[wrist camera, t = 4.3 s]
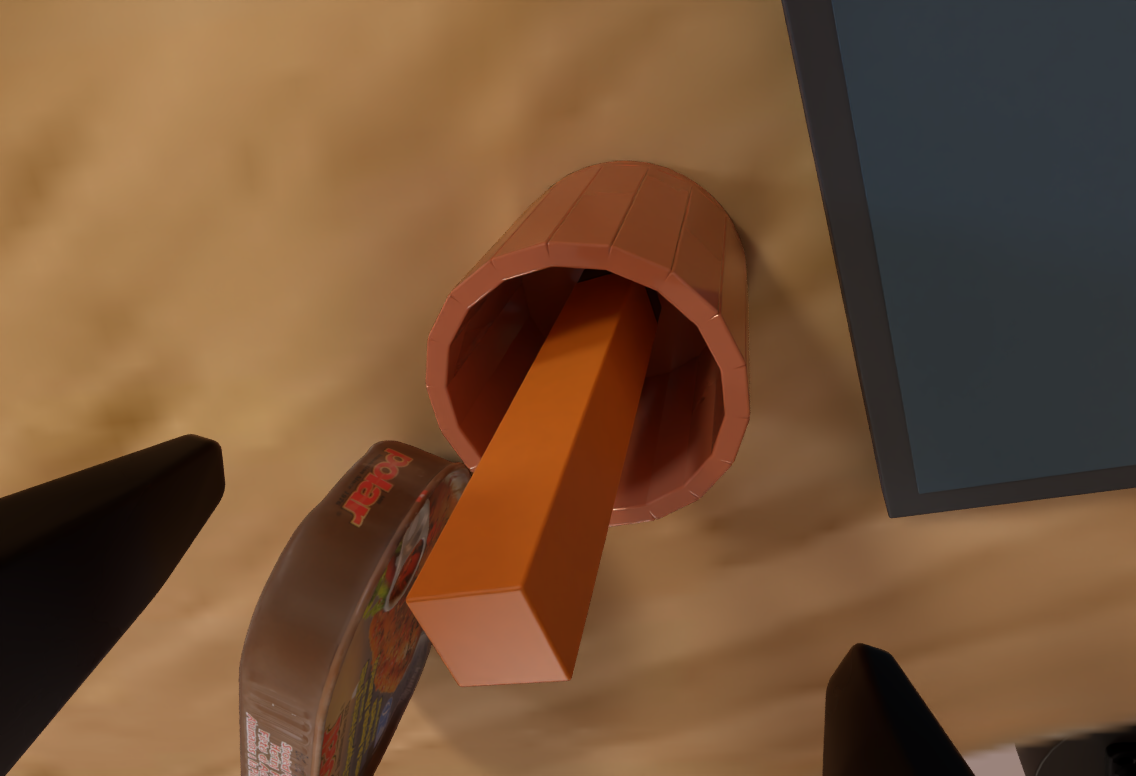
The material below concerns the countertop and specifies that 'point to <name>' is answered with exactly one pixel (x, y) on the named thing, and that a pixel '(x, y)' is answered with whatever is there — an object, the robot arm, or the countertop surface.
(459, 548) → the stylus
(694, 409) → the pen cup
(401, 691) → the tin
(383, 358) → the countertop surface
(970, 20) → the tablet
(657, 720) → the countertop surface
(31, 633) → the robot arm
